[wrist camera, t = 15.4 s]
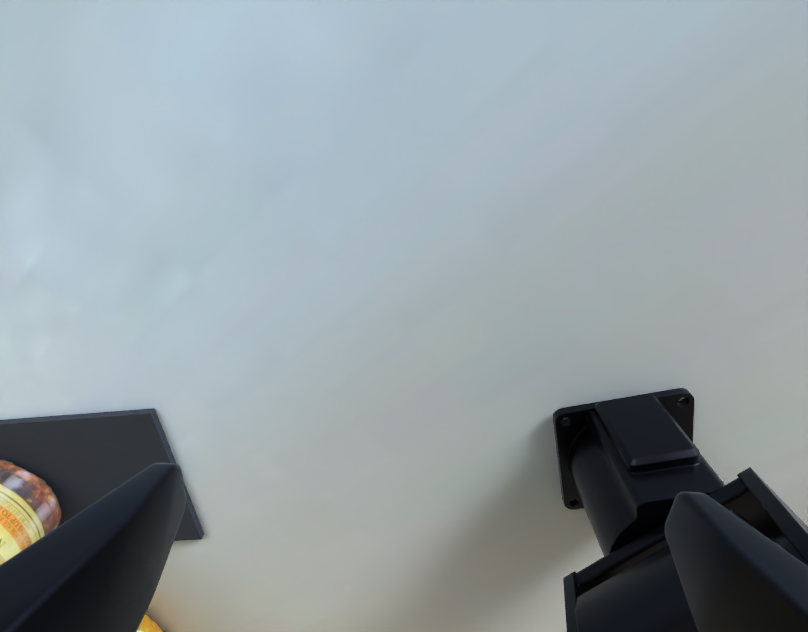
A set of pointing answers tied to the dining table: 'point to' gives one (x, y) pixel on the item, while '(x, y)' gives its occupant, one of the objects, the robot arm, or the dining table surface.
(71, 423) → the mat
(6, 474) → the sauce bottle
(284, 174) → the dining table surface
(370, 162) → the dining table surface
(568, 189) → the dining table surface
